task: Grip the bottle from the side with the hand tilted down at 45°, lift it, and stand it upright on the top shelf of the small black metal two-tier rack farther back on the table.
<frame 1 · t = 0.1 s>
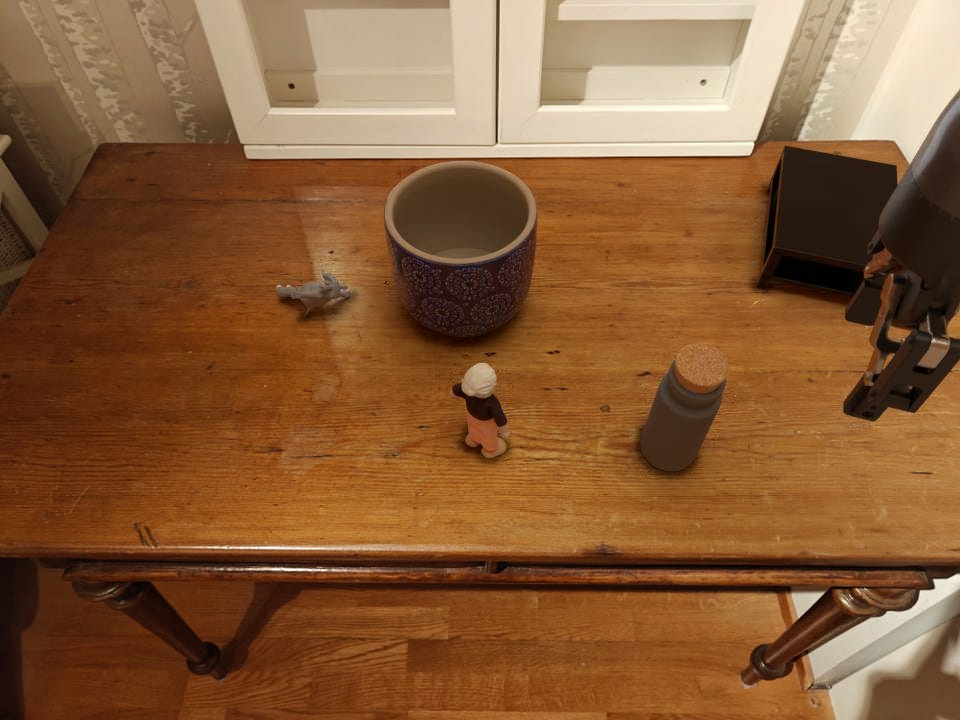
hand: (858, 364, 49), 25 cm above the table, tool pointing down, fingers open, 8 cm apart
bottle: (667, 448, 74), on the table
grandmother figurine: (481, 440, 75), on the table
planter: (464, 302, 86), on the table
rack: (817, 245, 91), on the table
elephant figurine: (314, 312, 85), on the table
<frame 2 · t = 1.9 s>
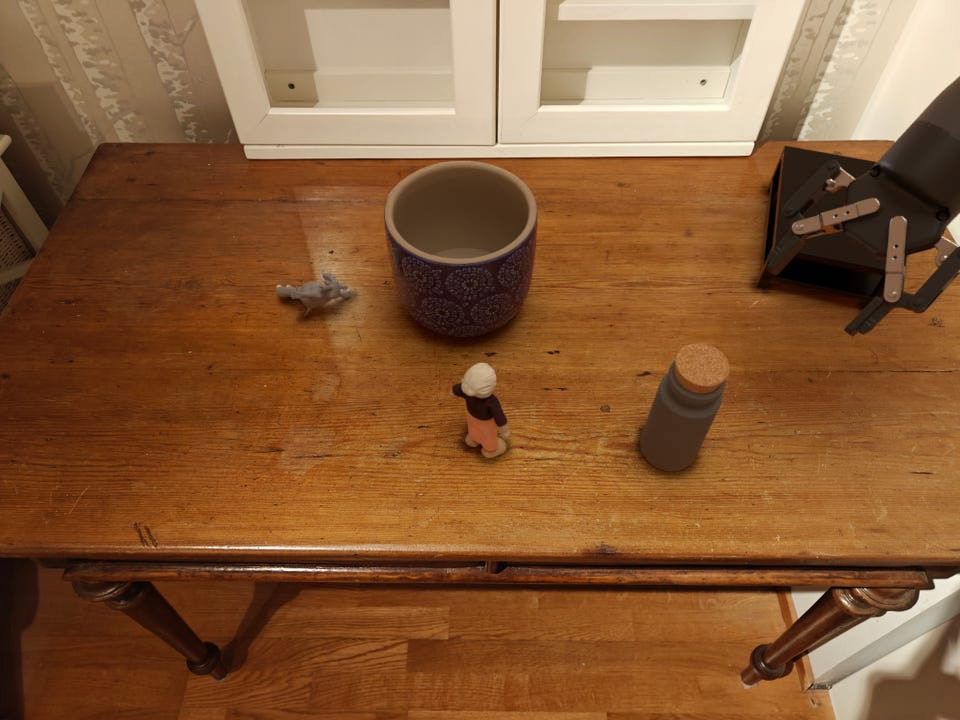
hand: (808, 302, 62), 18 cm above the table, tool tilted 45°, fingers open, 8 cm apart
nothing on the table moved.
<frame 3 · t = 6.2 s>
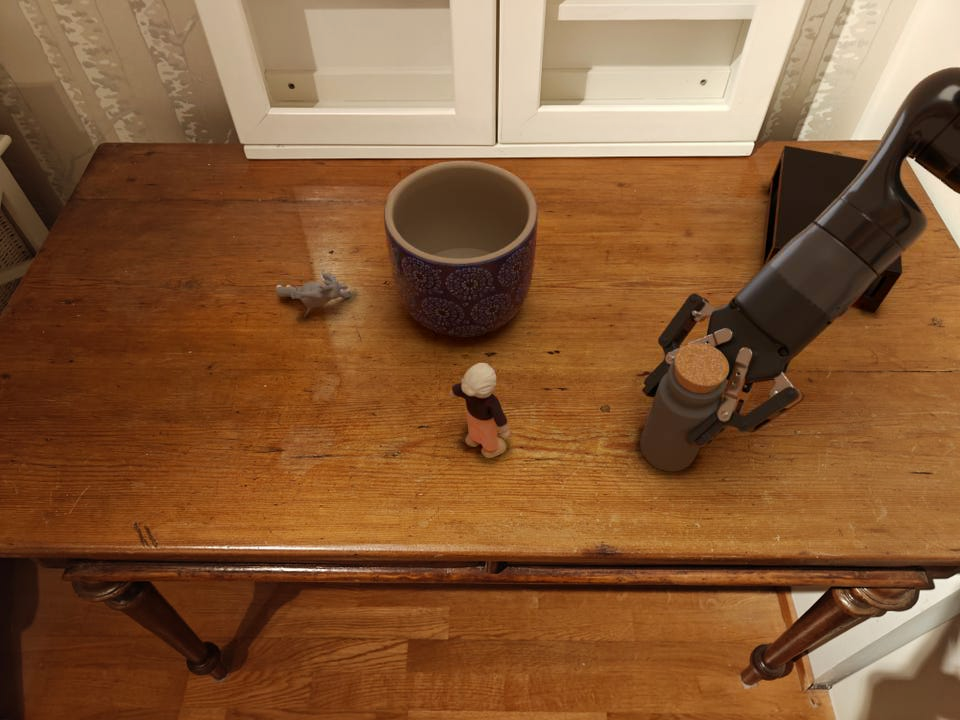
hand: (669, 418, 67), 7 cm above the table, tool tilted 45°, fingers closed on bottle, 6 cm apart
bottle: (667, 448, 74), on the table, touching gripper
everything else where it was.
when the fingers open (14 cm above the table, at t = 16.9 s): bottle stays where it is, resting on rack.
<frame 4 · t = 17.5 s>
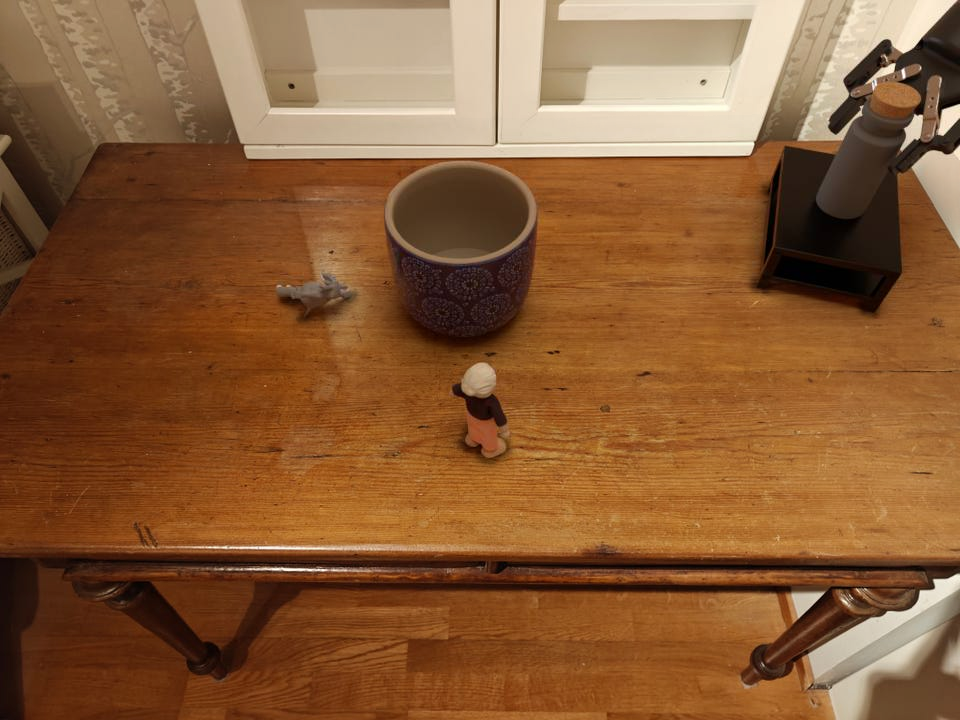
hand: (860, 150, 79), 15 cm above the table, tool tilted 45°, fingers open, 8 cm apart
bottle: (839, 204, 86), point 7 cm above the table, touching rack
everything else where it was.
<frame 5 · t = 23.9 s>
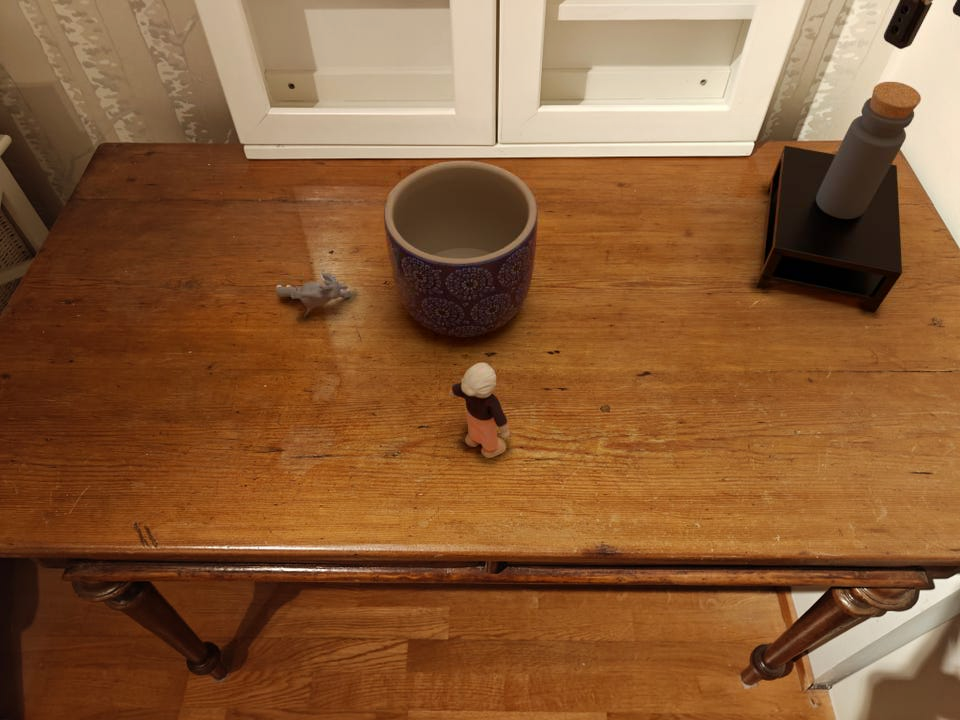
hand: (930, 29, 58), 34 cm above the table, tool pointing down, fingers open, 8 cm apart
nothing on the table moved.
at the end: bottle inside the target area on the rack (0.1 cm from its centre), point 6.8 cm above the rack's base; bottle tilted 0°; the gripper is holding nothing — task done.
